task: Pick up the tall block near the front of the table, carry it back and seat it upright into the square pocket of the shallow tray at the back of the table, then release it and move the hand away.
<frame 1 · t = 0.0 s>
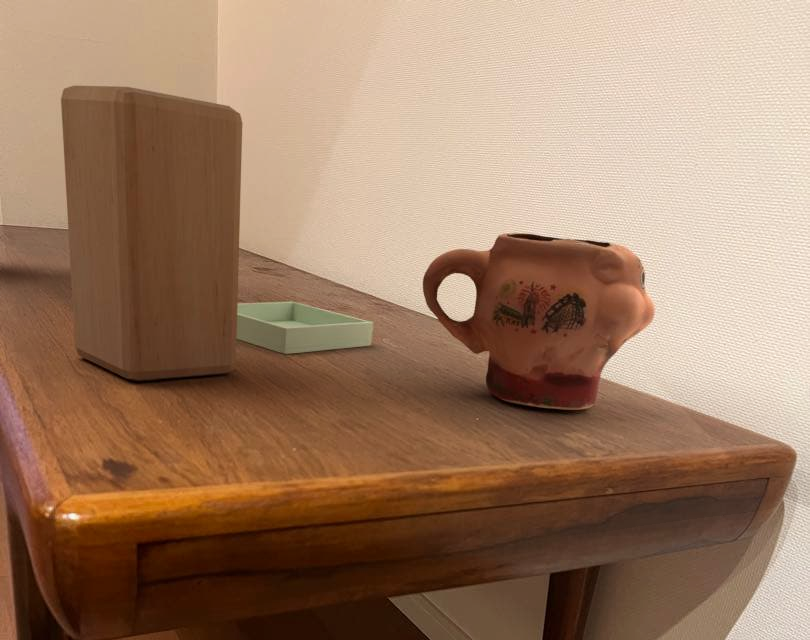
block: (156, 368, 66), on the table
shallow tray: (288, 337, 84), on the table
terracotta mug: (520, 400, 70), on the table
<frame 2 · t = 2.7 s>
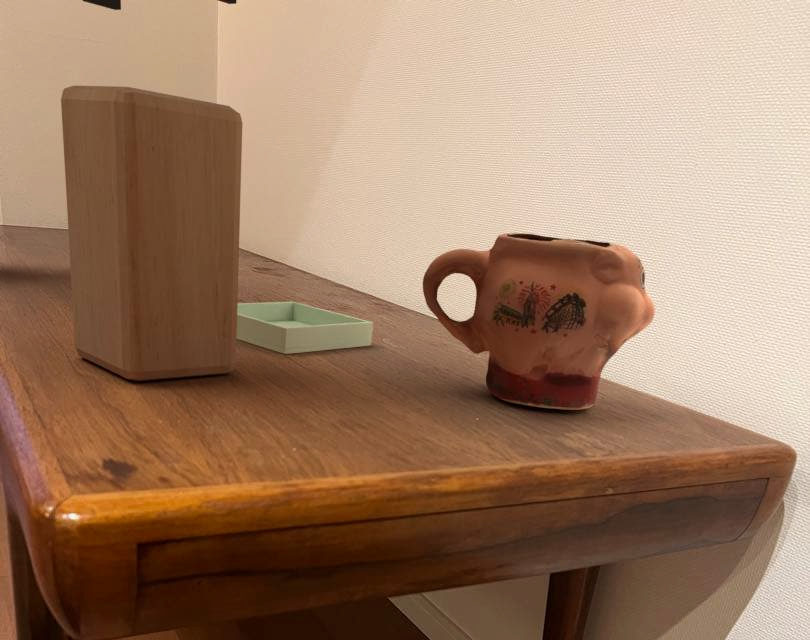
hand: (155, 3, 55), 26 cm above the table, tool pointing down, fingers open, 13 cm apart
nothing on the table moved.
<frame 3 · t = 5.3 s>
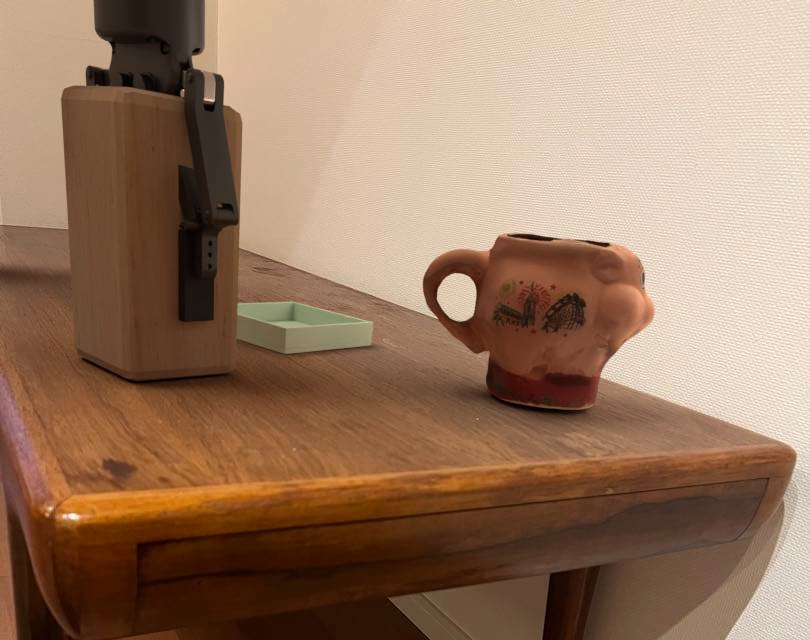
hand: (155, 307, 64), 5 cm above the table, tool pointing down, fingers closed on block, 10 cm apart
block: (156, 368, 66), on the table, touching gripper
everything else where it was.
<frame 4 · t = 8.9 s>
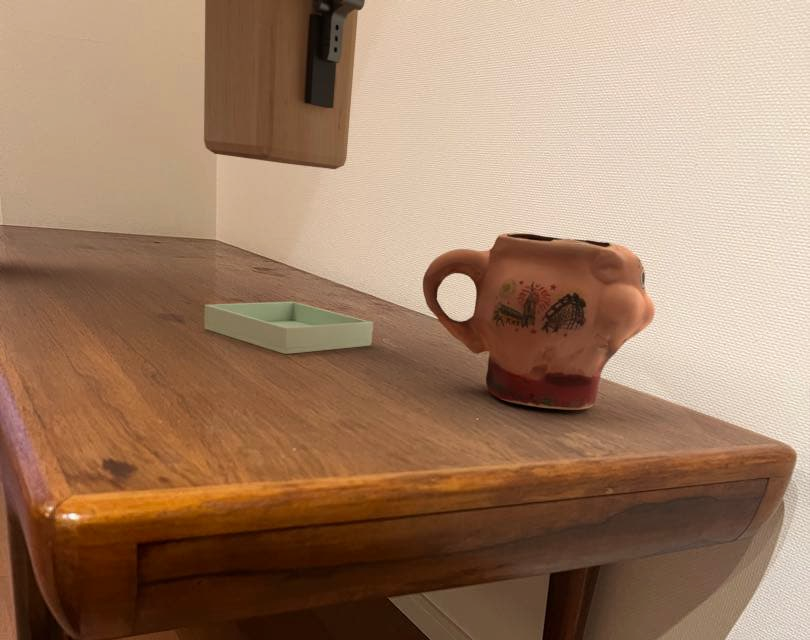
hand: (277, 103, 71), 22 cm above the table, tool pointing down, fingers closed on block, 10 cm apart
block: (274, 163, 73), point 17 cm above the table, touching gripper
everything else where it was.
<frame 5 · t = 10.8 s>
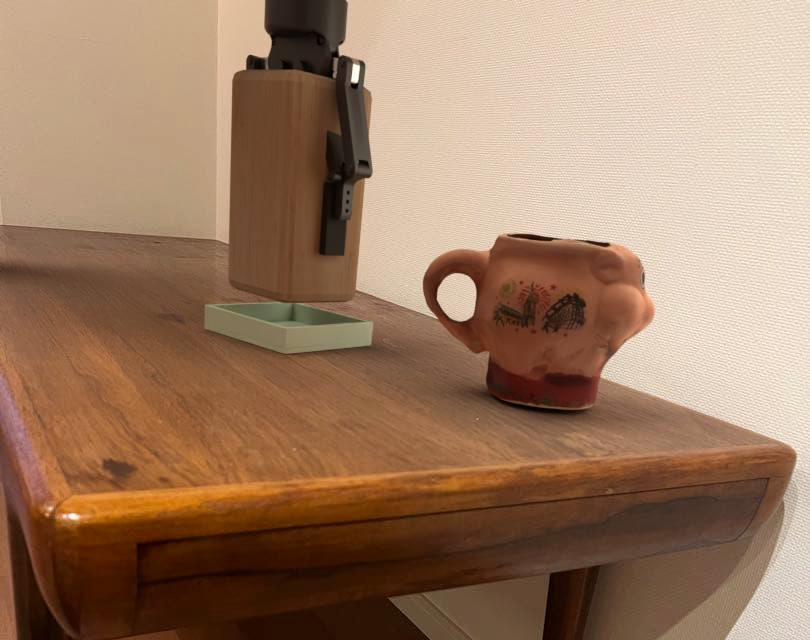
hand: (293, 247, 80), 9 cm above the table, tool pointing down, fingers closed on block, 10 cm apart
block: (291, 297, 82), point 4 cm above the table, touching gripper
everything else where it was.
when the fingers open (5 cm above the table, at t = 12.5 s): block stays where it is, resting on shallow tray.
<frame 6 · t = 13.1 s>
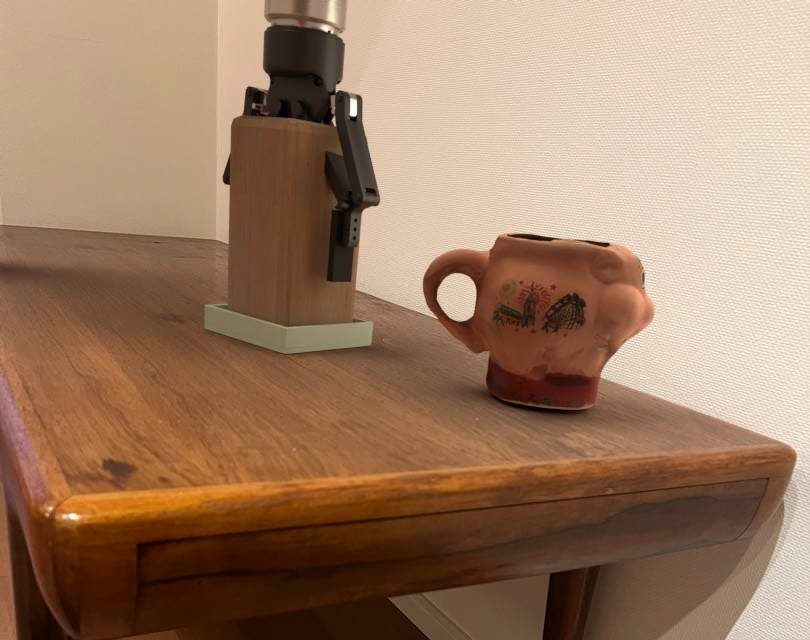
hand: (292, 270, 81), 7 cm above the table, tool pointing down, fingers open, 13 cm apart
block: (289, 334, 84), resting on shallow tray
everything else where it was.
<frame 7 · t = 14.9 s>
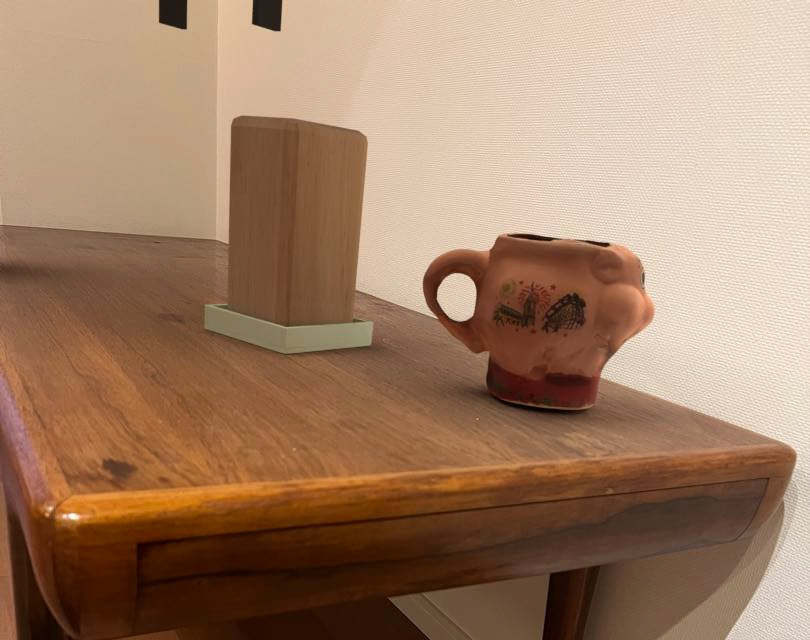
hand: (217, 27, 73), 28 cm above the table, tool pointing down, fingers open, 13 cm apart
nothing on the table moved.
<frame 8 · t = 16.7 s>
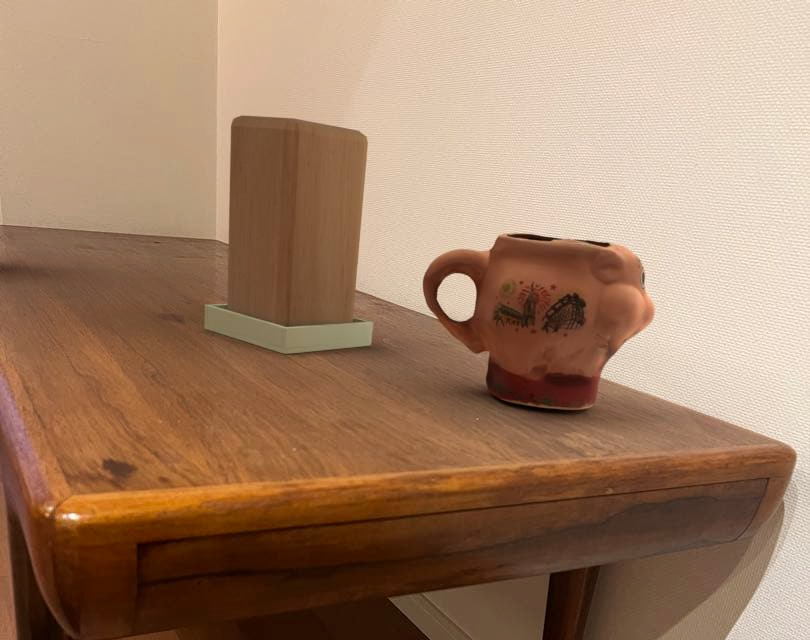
nothing on the table moved.
at the end: block 0.0 cm off-centre in the shallow tray, point 0.3 cm above the shallow tray's base; block tilted 0°; the gripper is holding nothing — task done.
